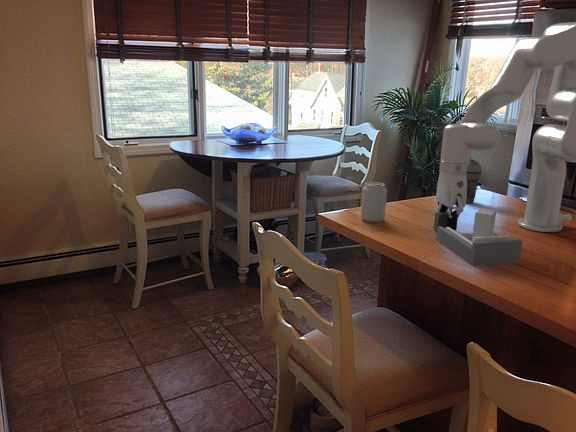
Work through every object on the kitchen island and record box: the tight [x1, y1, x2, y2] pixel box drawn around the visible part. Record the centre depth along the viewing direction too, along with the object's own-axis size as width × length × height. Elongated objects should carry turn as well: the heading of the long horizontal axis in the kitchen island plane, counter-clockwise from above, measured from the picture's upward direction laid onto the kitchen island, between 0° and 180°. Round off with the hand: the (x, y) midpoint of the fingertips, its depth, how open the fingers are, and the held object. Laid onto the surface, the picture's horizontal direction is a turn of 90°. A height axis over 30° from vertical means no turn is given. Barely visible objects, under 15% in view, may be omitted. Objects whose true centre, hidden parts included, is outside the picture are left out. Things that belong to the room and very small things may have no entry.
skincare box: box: [471, 207, 497, 242], centre depth 140 cm, size 6×4×12 cm
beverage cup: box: [466, 150, 482, 205], centre depth 190 cm, size 7×7×20 cm
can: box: [360, 181, 388, 224], centre depth 168 cm, size 8×8×12 cm
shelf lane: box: [435, 226, 523, 267], centre depth 143 cm, size 13×20×6 cm, turn 11°
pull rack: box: [433, 211, 511, 246], centre depth 148 cm, size 10×26×6 cm, turn 11°
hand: (446, 226), depth 159 cm, fingers closed on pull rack, 4 cm apart
